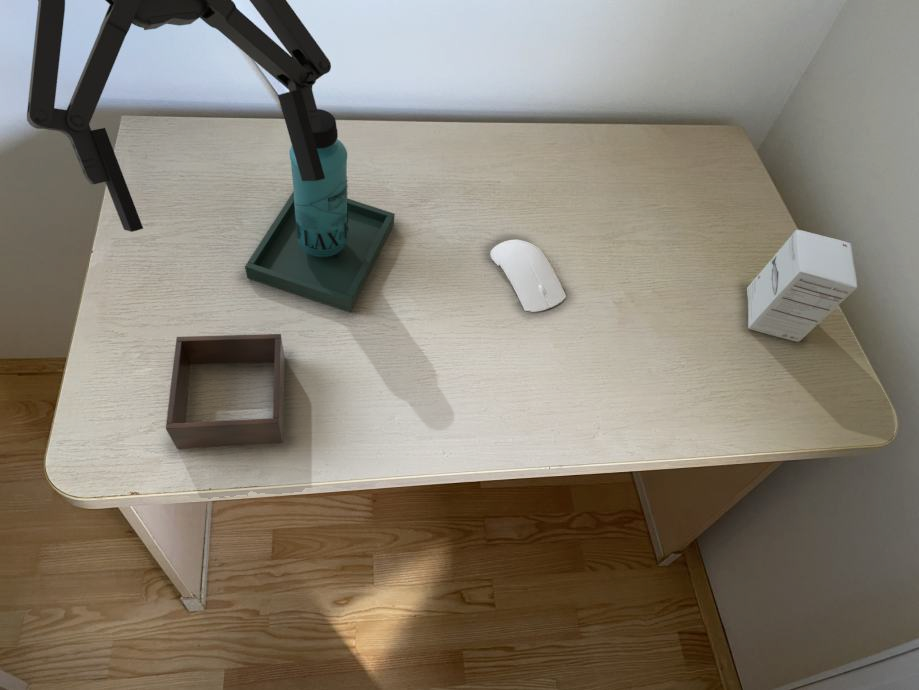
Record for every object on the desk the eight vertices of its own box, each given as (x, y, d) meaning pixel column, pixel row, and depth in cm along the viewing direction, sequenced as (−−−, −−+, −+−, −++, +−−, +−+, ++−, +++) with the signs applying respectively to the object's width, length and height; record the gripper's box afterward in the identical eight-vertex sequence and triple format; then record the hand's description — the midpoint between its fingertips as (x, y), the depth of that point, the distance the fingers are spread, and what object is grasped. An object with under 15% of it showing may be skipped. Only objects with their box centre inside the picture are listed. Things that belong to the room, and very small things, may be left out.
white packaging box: (744, 287, 92) (795, 226, 82) (796, 301, 92) (854, 241, 82) (745, 330, 88) (799, 271, 78) (799, 344, 88) (860, 287, 78)
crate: (176, 449, 69) (165, 428, 65) (186, 360, 75) (176, 336, 71) (283, 443, 71) (278, 423, 67) (284, 357, 77) (280, 333, 72)
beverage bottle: (288, 256, 83) (272, 128, 67) (311, 220, 87) (301, 91, 70) (336, 273, 83) (331, 149, 66) (357, 236, 87) (358, 110, 70)
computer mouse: (527, 316, 84) (531, 306, 82) (482, 249, 89) (485, 238, 88) (570, 300, 87) (575, 289, 85) (524, 235, 92) (527, 224, 90)
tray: (350, 312, 81) (350, 301, 79) (247, 278, 82) (244, 266, 80) (393, 225, 90) (394, 213, 88) (300, 194, 90) (299, 182, 88)
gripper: (282, -123, 49) (354, 164, 57) (-127, -115, 37) (36, 249, 45) (324, -164, 44) (398, 161, 51) (-145, -171, 31) (46, 259, 39)
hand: (230, 203), depth 48 cm, fingers open, 13 cm apart
